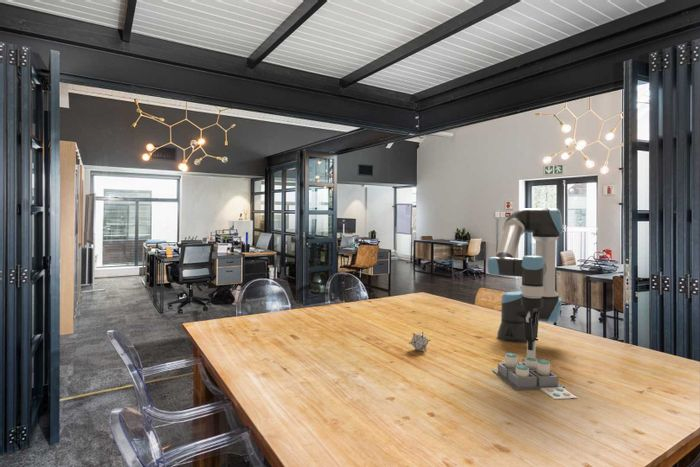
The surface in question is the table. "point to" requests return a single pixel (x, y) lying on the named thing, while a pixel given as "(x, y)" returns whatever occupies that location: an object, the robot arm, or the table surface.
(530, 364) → the button
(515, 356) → the button
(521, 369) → the button
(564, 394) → the card
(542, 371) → the button
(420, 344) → the game die
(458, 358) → the table surface
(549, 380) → the board
